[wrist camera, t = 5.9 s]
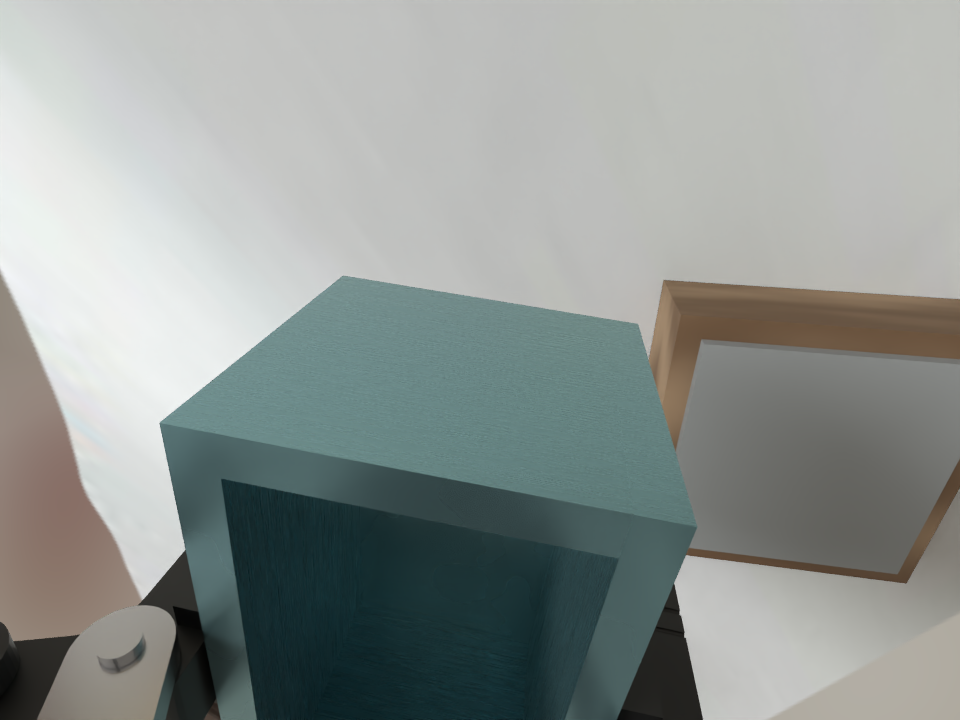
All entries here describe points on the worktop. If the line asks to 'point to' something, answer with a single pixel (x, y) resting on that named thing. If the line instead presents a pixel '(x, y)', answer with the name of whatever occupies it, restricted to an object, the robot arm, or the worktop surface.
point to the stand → (811, 422)
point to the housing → (429, 511)
